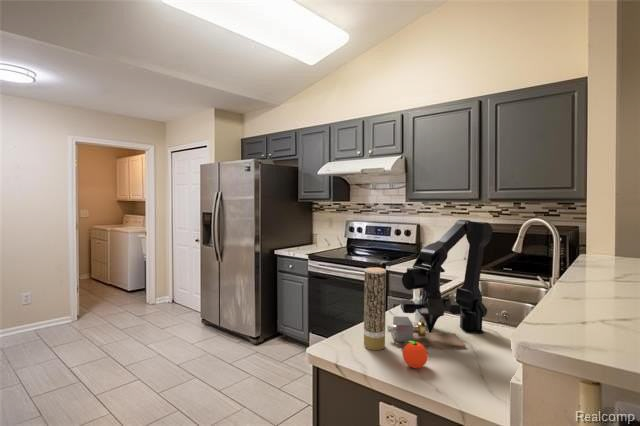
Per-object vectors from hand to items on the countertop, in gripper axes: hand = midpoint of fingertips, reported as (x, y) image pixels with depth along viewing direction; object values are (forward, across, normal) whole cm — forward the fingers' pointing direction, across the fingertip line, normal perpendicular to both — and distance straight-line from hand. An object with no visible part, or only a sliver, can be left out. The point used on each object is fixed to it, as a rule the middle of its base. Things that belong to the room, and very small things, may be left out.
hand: (429, 332), depth 116 cm
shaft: (+1, -8, 0) cm, 8 cm away
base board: (+3, -1, 0) cm, 3 cm away
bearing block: (+3, -9, 0) cm, 10 cm away
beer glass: (+3, +1, +14) cm, 15 cm away
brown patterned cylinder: (+3, -19, -5) cm, 20 cm away
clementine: (+3, -9, -17) cm, 20 cm away
